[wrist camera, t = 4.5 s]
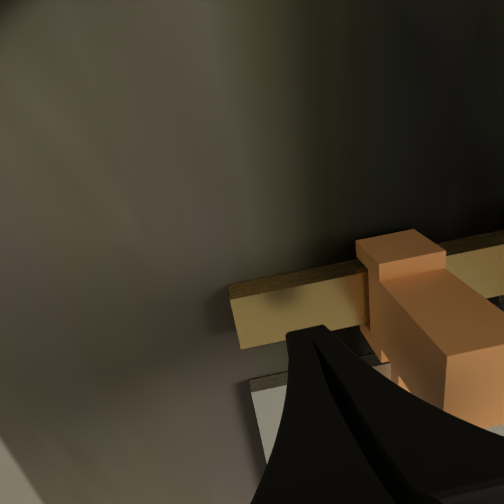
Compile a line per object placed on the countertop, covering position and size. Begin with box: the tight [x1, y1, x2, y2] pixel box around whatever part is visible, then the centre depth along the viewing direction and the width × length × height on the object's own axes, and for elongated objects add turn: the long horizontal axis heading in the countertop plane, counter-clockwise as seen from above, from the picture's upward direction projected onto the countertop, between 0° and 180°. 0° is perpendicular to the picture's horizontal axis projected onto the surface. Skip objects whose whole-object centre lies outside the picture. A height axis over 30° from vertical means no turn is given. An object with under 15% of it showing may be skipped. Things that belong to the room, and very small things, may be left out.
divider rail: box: [228, 230, 504, 349], centre depth 14 cm, size 14×11×6 cm
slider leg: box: [356, 229, 504, 429], centre depth 14 cm, size 2×11×6 cm, turn 10°
